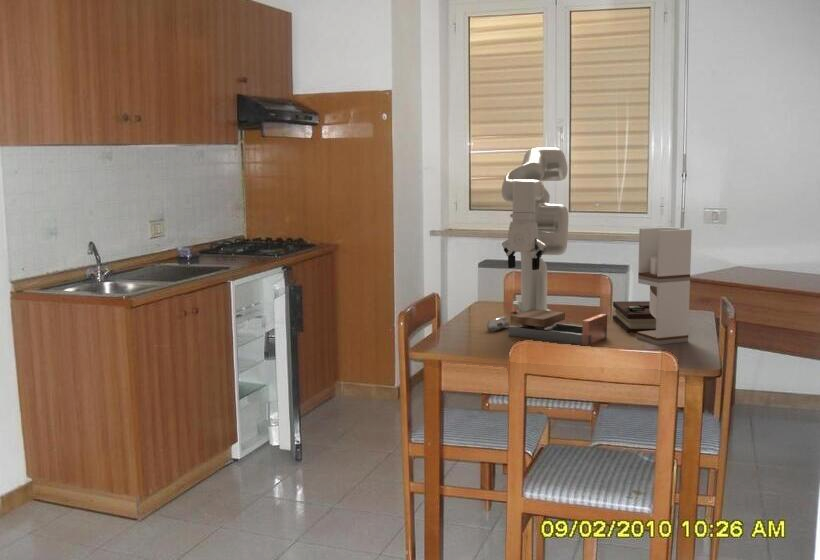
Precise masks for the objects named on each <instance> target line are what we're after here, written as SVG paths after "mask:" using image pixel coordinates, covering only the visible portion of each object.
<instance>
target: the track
mask: <svg viewBox="0 0 820 560" xmlns="http://www.w3.org/2000/svg"><path fill="white" fill-rule="evenodd" d="M607 333H608V314H607V313H606V314H605V313H601V314H600V313H599V314H597V315H594V316H592V317H588V318H587V319H586V318H585V319H584V320H582V324H581V325H579V324H572V323H561V322H556V323H553V324H551V325H548V326H545V327H540V326H532V325H523V324H518V325H508V336H509V337H510V336H511V337H517V338H526V339H527V338H528V339H535V340H542V341H549V342H550V341H551V342H557V341H561V342H560V343H565V342H568V343H567V344H573V343H577V344H576V345H581V346H590V345H592V344H595V343H598V342H599V341H602V340H605V339H607V338H608V334H607ZM569 342H570V343H569Z"/></svg>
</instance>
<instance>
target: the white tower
mask: <svg viewBox="0 0 820 560" xmlns="http://www.w3.org/2000/svg"><path fill="white" fill-rule="evenodd" d="M638 230H639V232H638V234H639V235H638V270H637V271H638V272H637V273H638V275H637V276H638V279H637V281H638V283H637V284H641V285H646V286H649V301H650V307H649V310H650V313H651V315H652V316H653V317H654V318H656V330H652V331H641V332H637V333H636V339H639V340H642V341H645V342H648V343H651V344H654V345H657V346H658V345H666V344H676V343H677V344H678V343H686V342H689V327H690V326H689V325H690V320H689V319H690V291H691V289H690V288H691V263H692V262H691V259H692V258H691V257H692V234H693V233H692V231H693V230H692V229H690V228H689V229H688V228H683V227H673V226H672V227H667V226H666V227H665V226H664V227H649V228H647V227H645V228H639V229H638Z"/></svg>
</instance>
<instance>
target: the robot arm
mask: <svg viewBox="0 0 820 560" xmlns="http://www.w3.org/2000/svg"><path fill="white" fill-rule="evenodd" d="M567 176H568V163H567V159H566V155H565V153H564V152H563V150H562V149H561V148H558V147H533V148H529V150H527V151H526V152H525V154H524V157H523V160H522V163H521V165H519V166H517V167H516V168H514V169H512V170H510V171H509V172H507V173H506V174H505V176H504V179H503V182H502V186H501V195H502V199H503V200H504V201H506V202H507V203H508V202H510V203H512V213H511V214H509V217H510V218H511V219H512V221H510V223H509V227H508V234H507V240H505V241H503V242H501V245H502V248H503V251H504V253H505V254H506V257H507V265H508V266H507V268H508V269H513V268H516V256H515V254H516V253H518V252H519V253H520V266H521V267H520V272H521V274H520V275H521V276H520V277H521V278H520V281H521V282H520V283H521V284H520V300H519V301H518V300H517V301H516V300H513V301H512V307H517V308H518V309H517V310H516V314H518V313H522V312H525V311H528V310H531V309H536V310H546V311H552V310H551V309H549V308H548V266H547V263H546V262H545V260H544V259H543V258H542V256H560V255H563V254H565V253H566V251H567V248H568V247H567V246H568V235H569V234H568V231H569V211H568V208H567V206H565V205H564V204H562V203H561V204H560V203H550V200H551V198H550V193H549V191H548V189H546V187H545V185H544V184H543V182H560V181H563V180H565V179H566V177H567Z"/></svg>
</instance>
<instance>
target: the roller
mask: <svg viewBox="0 0 820 560" xmlns="http://www.w3.org/2000/svg"><path fill="white" fill-rule="evenodd" d="M509 324H510V320H509V319H508V317H506V316H499V317H497V318H493V319H490V320H488V321H487V322H486V329H487V330H488V331H489V332H493V333H494V332H497V331H500V330H503V329H506V328H507V327H508V328H509V326H510V325H509Z"/></svg>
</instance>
